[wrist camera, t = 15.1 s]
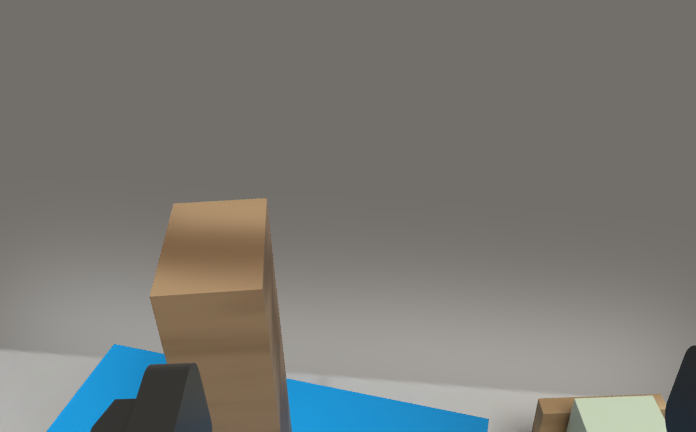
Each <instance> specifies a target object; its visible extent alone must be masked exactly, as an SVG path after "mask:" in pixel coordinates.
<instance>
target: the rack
mask: <svg viewBox="0 0 696 432" xmlns="http://www.w3.org/2000/svg"><path fill="white" fill-rule="evenodd" d="M627 396H653V397H654V399H655V401H656V403H657V405H658V407H659V409H660V411H661V413H662V415H663V417H664V419H665V408H666V403H665V402H664V400H663V398H662V396H661V394H652V395H625V396H597V397H570V398H543V399H538V403H537V408H536V413H535V418H534V423H533V428H532V432H566V430H567V426H568V422H569V418H570V414H571V410H572V406H573V402H574V398H600V397H627Z"/></svg>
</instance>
